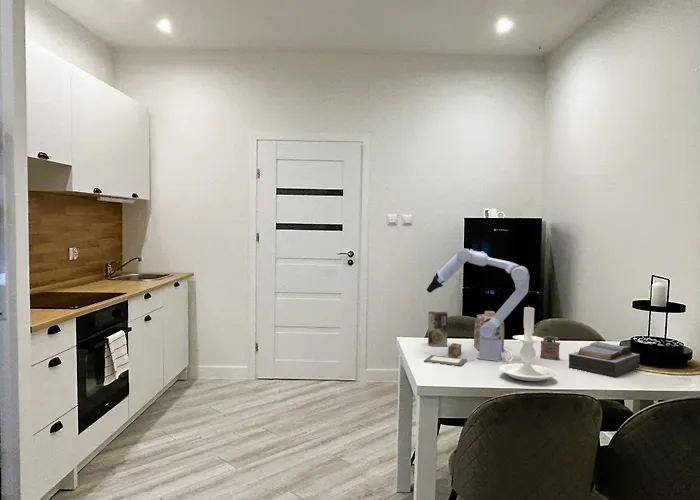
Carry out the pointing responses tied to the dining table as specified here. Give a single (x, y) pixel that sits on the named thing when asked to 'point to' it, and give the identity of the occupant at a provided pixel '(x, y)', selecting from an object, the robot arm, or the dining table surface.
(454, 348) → the card box
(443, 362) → the picture frame
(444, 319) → the coffee box
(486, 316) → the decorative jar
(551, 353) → the lighter
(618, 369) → the bible
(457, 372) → the dining table surface
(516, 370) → the candlestick
